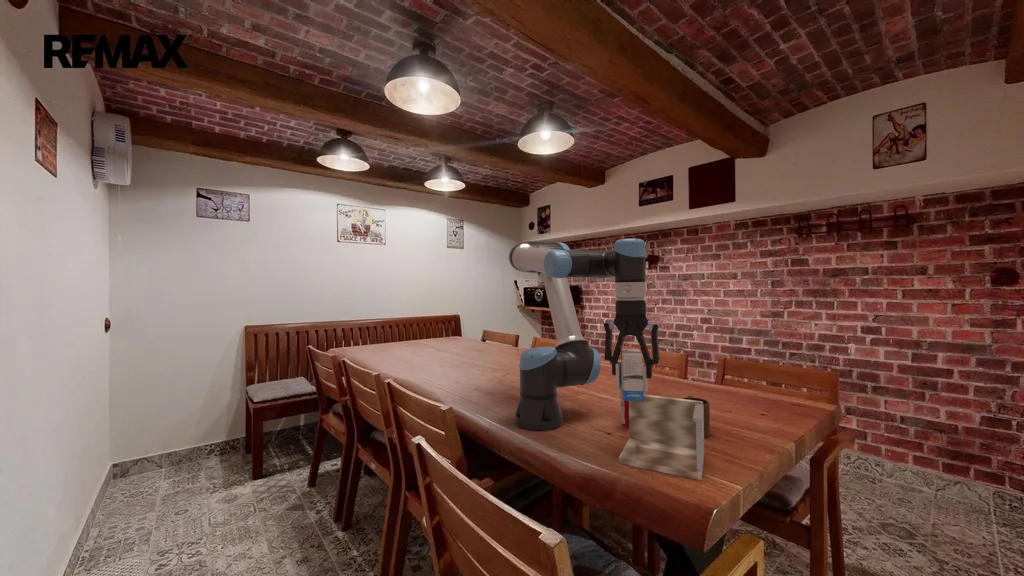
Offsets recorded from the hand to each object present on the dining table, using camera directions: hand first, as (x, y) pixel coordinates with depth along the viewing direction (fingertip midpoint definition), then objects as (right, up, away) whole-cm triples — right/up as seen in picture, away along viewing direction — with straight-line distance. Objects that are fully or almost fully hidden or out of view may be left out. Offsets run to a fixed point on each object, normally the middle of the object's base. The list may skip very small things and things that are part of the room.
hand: (631, 389), depth 97 cm
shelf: (+7, -16, -3) cm, 18 cm away
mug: (+23, -16, +15) cm, 32 cm away
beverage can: (+5, -17, +18) cm, 25 cm away
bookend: (+14, -15, -7) cm, 21 cm away
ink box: (0, -2, 0) cm, 2 cm away
